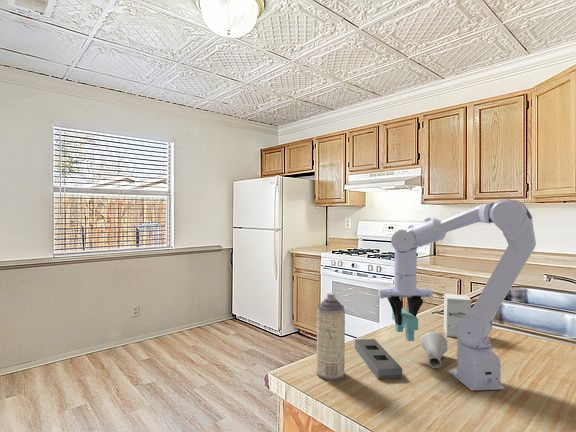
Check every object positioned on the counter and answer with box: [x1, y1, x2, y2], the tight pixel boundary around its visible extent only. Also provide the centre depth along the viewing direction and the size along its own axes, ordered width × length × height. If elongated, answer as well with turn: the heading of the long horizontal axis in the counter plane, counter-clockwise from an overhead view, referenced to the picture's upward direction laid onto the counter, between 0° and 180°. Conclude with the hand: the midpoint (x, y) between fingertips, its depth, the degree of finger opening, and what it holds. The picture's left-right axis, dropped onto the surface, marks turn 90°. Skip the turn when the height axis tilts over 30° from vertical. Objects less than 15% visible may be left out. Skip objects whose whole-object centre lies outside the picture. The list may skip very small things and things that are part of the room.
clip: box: [391, 307, 419, 342], centre depth 98 cm, size 10×3×6 cm, turn 5°
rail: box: [354, 338, 403, 380], centre depth 97 cm, size 20×6×2 cm, turn 5°
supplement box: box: [443, 293, 472, 338], centre depth 119 cm, size 7×7×13 cm
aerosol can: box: [316, 292, 346, 381], centre depth 89 cm, size 7×7×20 cm
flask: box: [420, 331, 448, 369], centre depth 97 cm, size 7×7×10 cm
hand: (404, 324), depth 97 cm, fingers closed on clip, 3 cm apart
